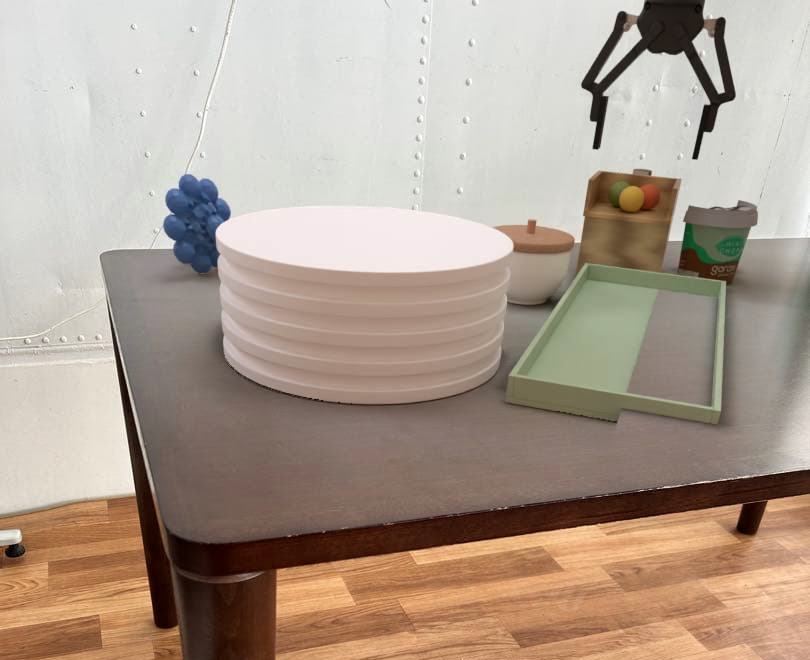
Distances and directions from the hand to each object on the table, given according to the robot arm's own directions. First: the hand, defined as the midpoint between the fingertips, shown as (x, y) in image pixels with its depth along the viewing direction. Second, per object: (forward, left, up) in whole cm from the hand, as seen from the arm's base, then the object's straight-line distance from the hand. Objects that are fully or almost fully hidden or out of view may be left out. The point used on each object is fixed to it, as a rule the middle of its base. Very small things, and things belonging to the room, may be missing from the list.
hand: (644, 153), depth 114 cm
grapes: (+49, +37, -15) cm, 63 cm away
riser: (0, +9, -15) cm, 17 cm away
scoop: (0, +7, -7) cm, 9 cm away
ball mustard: (0, +11, -4) cm, 12 cm away
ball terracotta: (-2, +8, -4) cm, 9 cm away
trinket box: (+10, +27, -15) cm, 32 cm away
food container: (-13, +5, -15) cm, 21 cm away
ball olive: (+2, +8, -4) cm, 9 cm away
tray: (-5, +38, -15) cm, 41 cm away
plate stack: (+21, +54, -15) cm, 60 cm away
